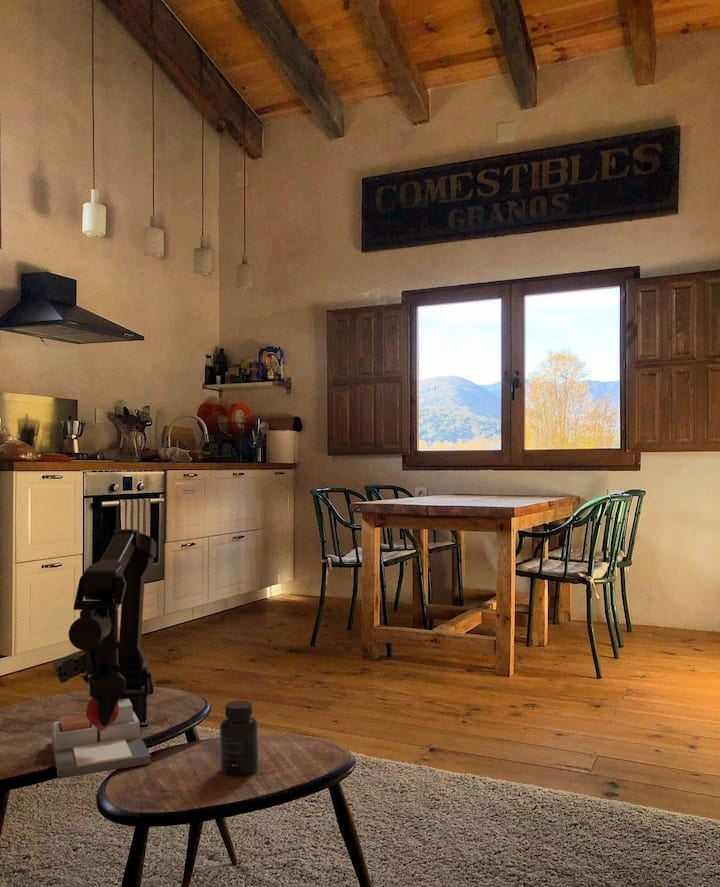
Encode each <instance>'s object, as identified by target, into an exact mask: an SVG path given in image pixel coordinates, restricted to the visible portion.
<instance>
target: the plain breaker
mask: <svg viewBox="0 0 720 887" xmlns="http://www.w3.org/2000/svg"><path fill="white" fill-rule="evenodd" d="M118 705H119V713H118V716H117V718H116V720H115V721H114V722H113V723H112V724H111V725H114V724H121V723H128V722H132V704H131V702H130V700H129V698H126V699H119V700H118Z"/></svg>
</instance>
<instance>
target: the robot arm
mask: <svg viewBox="0 0 720 887" xmlns="http://www.w3.org/2000/svg"><path fill="white" fill-rule="evenodd" d="M111 538H112V539H111V541H110V542H109V545H107V548H106V550H105V552H104V553H103V555H102V556H101V558H100V561H97V562H96V563H92V564H90V565H89V566H88V567H87V568H86V569H85V570H84V571H83V574H82V575H80V577H79V581H78V584H77V590H76V594H75V599H74V604H73V611H80V612H79V618H77V619H76V620H75V621H73V623H72V624H71V625H70V627H69V630H68V638H69V641H70V643H71V645H72V646H73V647H75V648H76V649H78V650H77V651H75V652H72V653H70V654H68V655H66V656H63V657H61V658H59V659H57V660H55V661H54V662H52V665H53V669H54V671H55V673H56V676H57V678H58V681H59V683H60V684H64V683H66V682H68V681H69V680H70V679H72V678H75V677H77V676H79V675H82V679H83V681H84V682H85V684H87V694H88V696H89V697H91V698H92V697H93V698H94V699H96V701H97V706H98V711H99V717H100V722H101V725H102V726H105V725H108V723H109V720H110V718H111V716H112V713H113V711H114V709H115V706H116V704H117V702H118V700H119V699H126V698H129V700H130V702H131V704H132V711H134V712H135V714H136V716H137V718H138V720H139V722H140V723H141V724H142V722H144V723H145V721H146V720H147V721H148V722H149V720H148V718H147V717H148V716H147V713H148V712H147V710H148V705H147V703H148V702H147V701H148V700H147V698H148V697H149V696H150V695H153V694H154V692H155V690H154V688H155V687H154V685H155V684H154V679H153V675H152V672H151V669H150V667H149V666H148V665H149V661H148V660H149V659H148V657H147V655H146V654H145V652H144V650H143V647H142V632H143V630H142V629H143V617H144V614H143V612H144V600H145V599H144V598H145V595H144V594H145V580H146V577H147V576H148V575H149V573H150V572H151V570H152V569H153V567H154V559H155V558H156V557H157V549H158V548H157V543H156V541H155V540H154V538H153V537H152V536H149V535H146V534H145V533H142V532H140V530H139V529H136V528H135V529H134V528H121V529H120V528H119V529H117V530H115V529H114V530H113V532H112V537H111ZM120 607H121V610H120V619H119V608H120ZM119 620H120V623H119ZM119 625H120V626H119ZM83 674H84V675H83Z"/></svg>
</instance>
